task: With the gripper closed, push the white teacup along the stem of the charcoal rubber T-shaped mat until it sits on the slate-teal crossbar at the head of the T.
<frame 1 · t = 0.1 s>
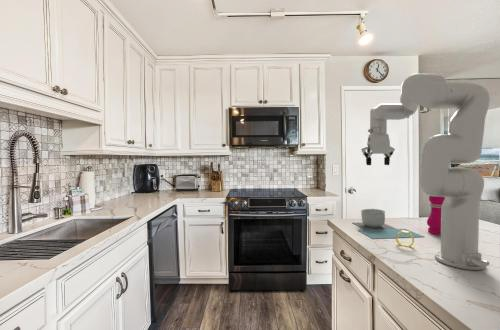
hand: (377, 165, 126), 31 cm above the worktop, tool pointing down, fingers open, 9 cm apart
teacup: (373, 225, 125), resting on t mat
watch: (404, 246, 97), on the worktop
pepper mill: (436, 233, 113), on the worktop
t mat: (389, 233, 112), on the worktop
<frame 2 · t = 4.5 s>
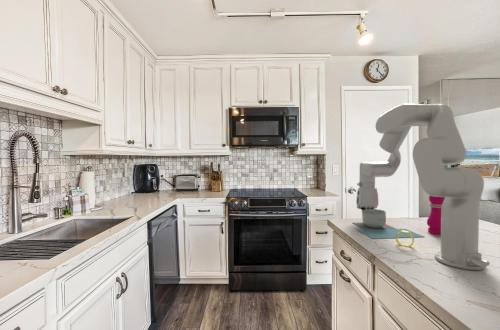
hand: (366, 219, 131), 2 cm above the worktop, tool pointing down, fingers closed
teacup: (374, 226, 125), resting on t mat
everything else where it was.
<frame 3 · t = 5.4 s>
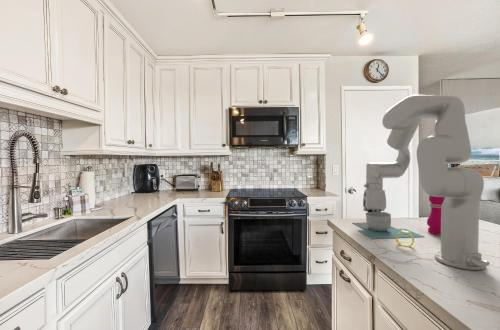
hand: (373, 222, 125), 2 cm above the worktop, tool pointing down, fingers closed
teacup: (379, 229, 119), resting on t mat, touching gripper
everything else where it was.
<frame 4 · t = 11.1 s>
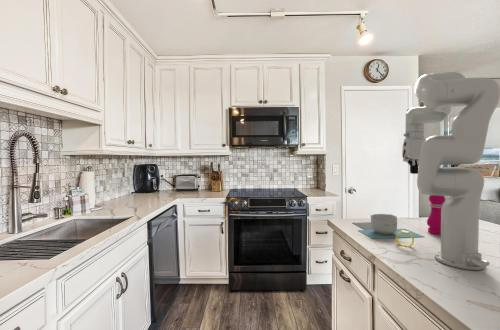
hand: (414, 173, 120), 27 cm above the worktop, tool pointing down, fingers closed
teacup: (385, 232, 114), resting on t mat
everything else where it was.
at the end: teacup inside the target area on the t mat (1.7 cm from its centre), point 0.0 cm above the t mat's base; teacup tilted 0°; teacup moved 11.5 cm from its start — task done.
